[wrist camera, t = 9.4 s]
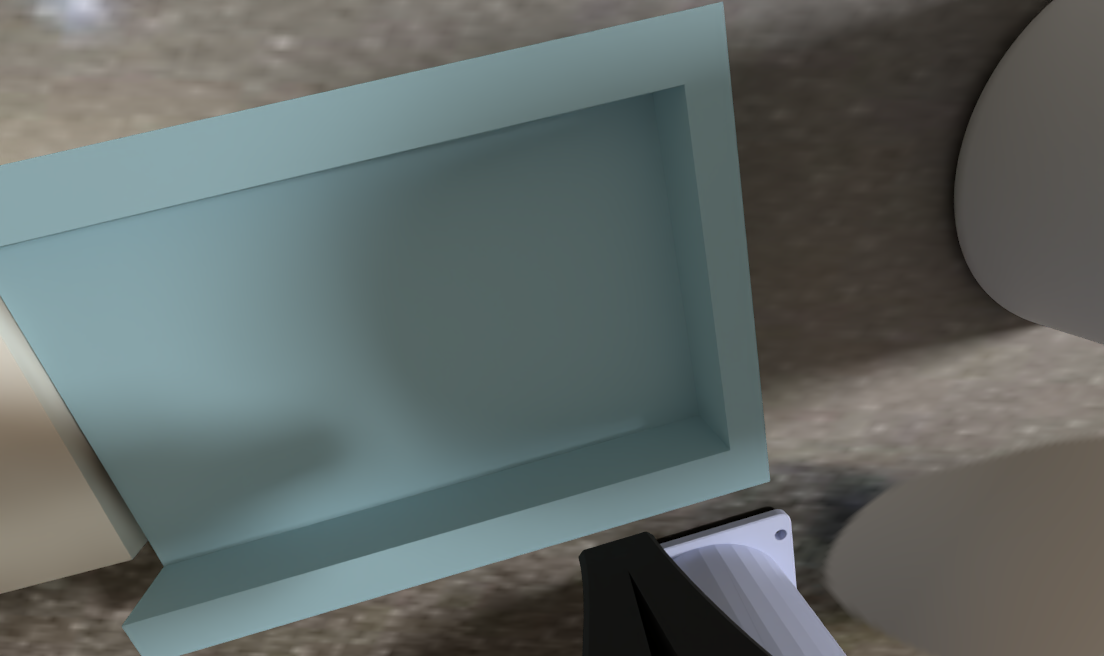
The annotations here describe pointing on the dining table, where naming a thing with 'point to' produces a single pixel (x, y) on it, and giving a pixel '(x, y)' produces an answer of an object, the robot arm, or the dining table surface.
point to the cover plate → (51, 480)
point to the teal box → (402, 321)
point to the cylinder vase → (1040, 174)
